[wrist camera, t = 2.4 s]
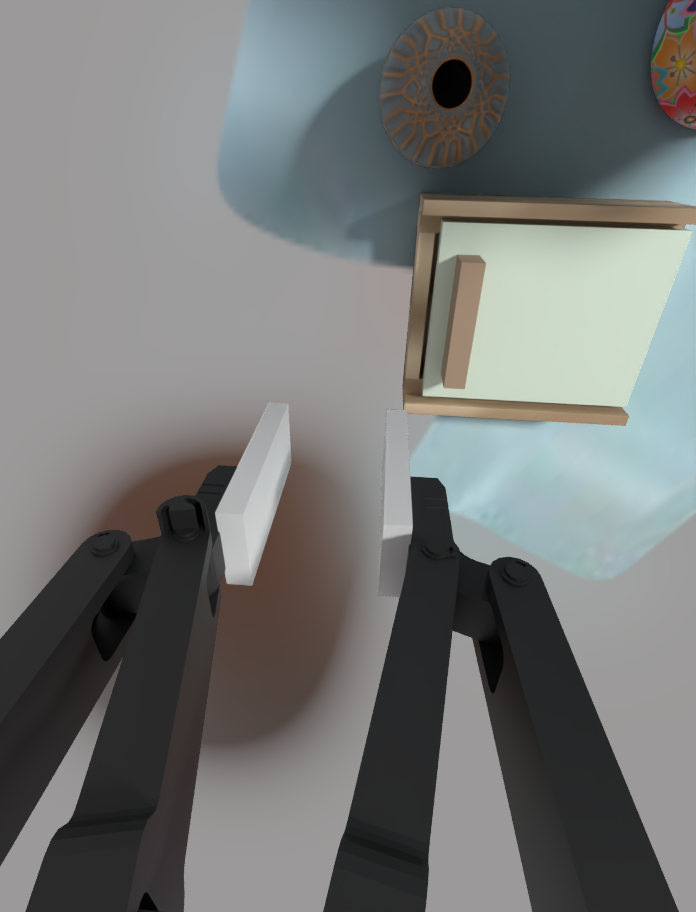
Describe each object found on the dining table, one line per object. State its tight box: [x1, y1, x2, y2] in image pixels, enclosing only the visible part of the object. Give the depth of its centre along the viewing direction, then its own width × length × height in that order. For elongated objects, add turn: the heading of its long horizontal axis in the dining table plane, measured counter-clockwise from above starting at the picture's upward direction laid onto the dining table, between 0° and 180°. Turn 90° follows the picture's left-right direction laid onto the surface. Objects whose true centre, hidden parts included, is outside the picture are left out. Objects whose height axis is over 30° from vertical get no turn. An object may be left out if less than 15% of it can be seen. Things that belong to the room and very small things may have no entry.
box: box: [403, 193, 696, 426], centre depth 33 cm, size 14×16×5 cm
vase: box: [379, 7, 510, 168], centre depth 25 cm, size 7×7×9 cm
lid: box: [422, 220, 693, 407], centre depth 31 cm, size 12×15×4 cm
